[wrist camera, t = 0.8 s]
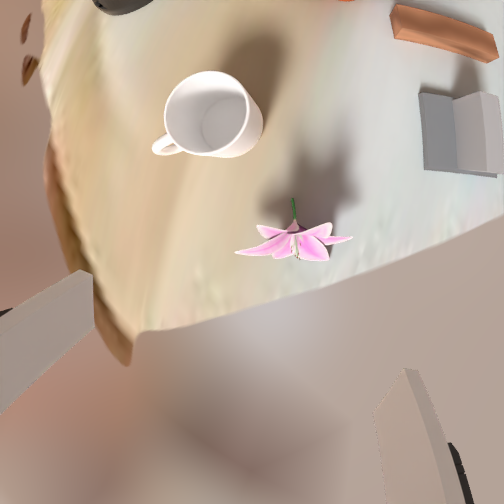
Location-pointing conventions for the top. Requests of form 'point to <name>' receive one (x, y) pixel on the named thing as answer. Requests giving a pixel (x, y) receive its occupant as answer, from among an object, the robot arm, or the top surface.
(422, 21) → the batten
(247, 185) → the top surface
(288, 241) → the lily
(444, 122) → the ridge stand
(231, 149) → the cup
